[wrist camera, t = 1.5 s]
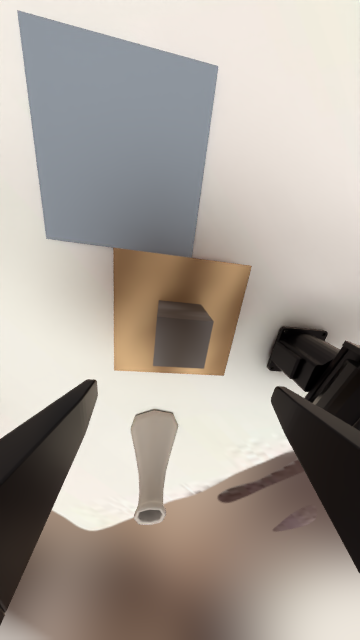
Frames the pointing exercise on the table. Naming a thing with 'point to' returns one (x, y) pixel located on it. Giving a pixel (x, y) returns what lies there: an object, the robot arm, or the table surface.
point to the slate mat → (116, 137)
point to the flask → (152, 462)
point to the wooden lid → (175, 312)
